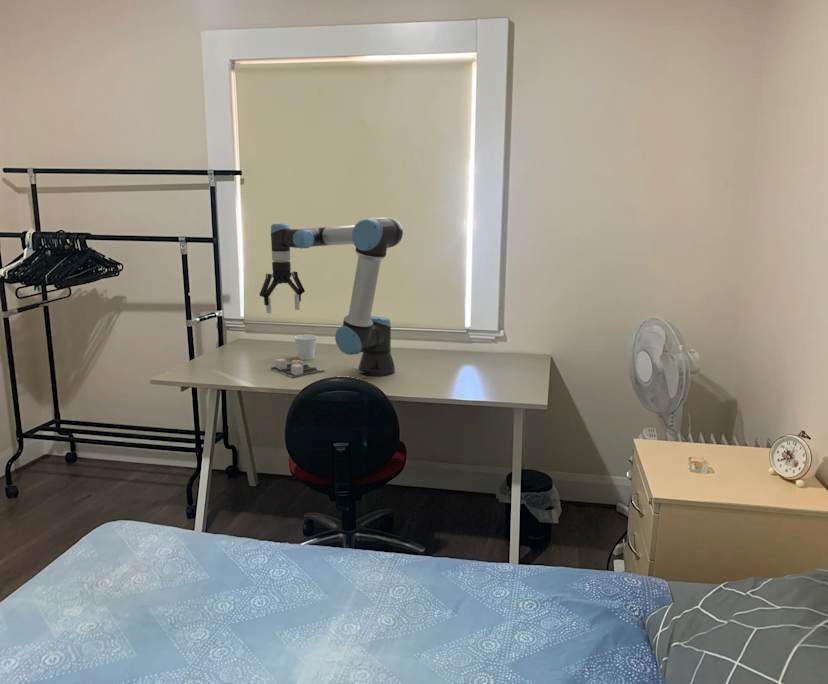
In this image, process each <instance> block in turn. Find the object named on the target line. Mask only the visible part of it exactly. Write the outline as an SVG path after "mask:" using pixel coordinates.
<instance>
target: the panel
mask: <svg viewBox="0 0 828 684" xmlns="http://www.w3.org/2000/svg"><path fill="white" fill-rule="evenodd" d="M291 365H292V362H291V363H287V368H286V369H277V368H276V365H275V366H271V368H269V370H270V371H273V372H275V373H278V374H280V375H283V376H286V377H288V378H290V379H296V378H300V377H306V376H310V375H315V374H320V373H321V374H322V373H325V372H327V370H324V369H321V368H318V367H316V366H313V365H310V364H307V363H304V362H303V374H300V375H293V374H291Z"/></svg>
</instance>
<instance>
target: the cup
mask: <svg viewBox="0 0 828 684" xmlns="http://www.w3.org/2000/svg"><path fill="white" fill-rule="evenodd" d="M293 338H294V341H295V347H296V351H297V356H298V357H297V358H298V360H300V361H309V360H314V358H315V351H316V345H317V339H318V336H317V335H316V334H315V335H314V334H298V335H295V336H294V337H293Z"/></svg>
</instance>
